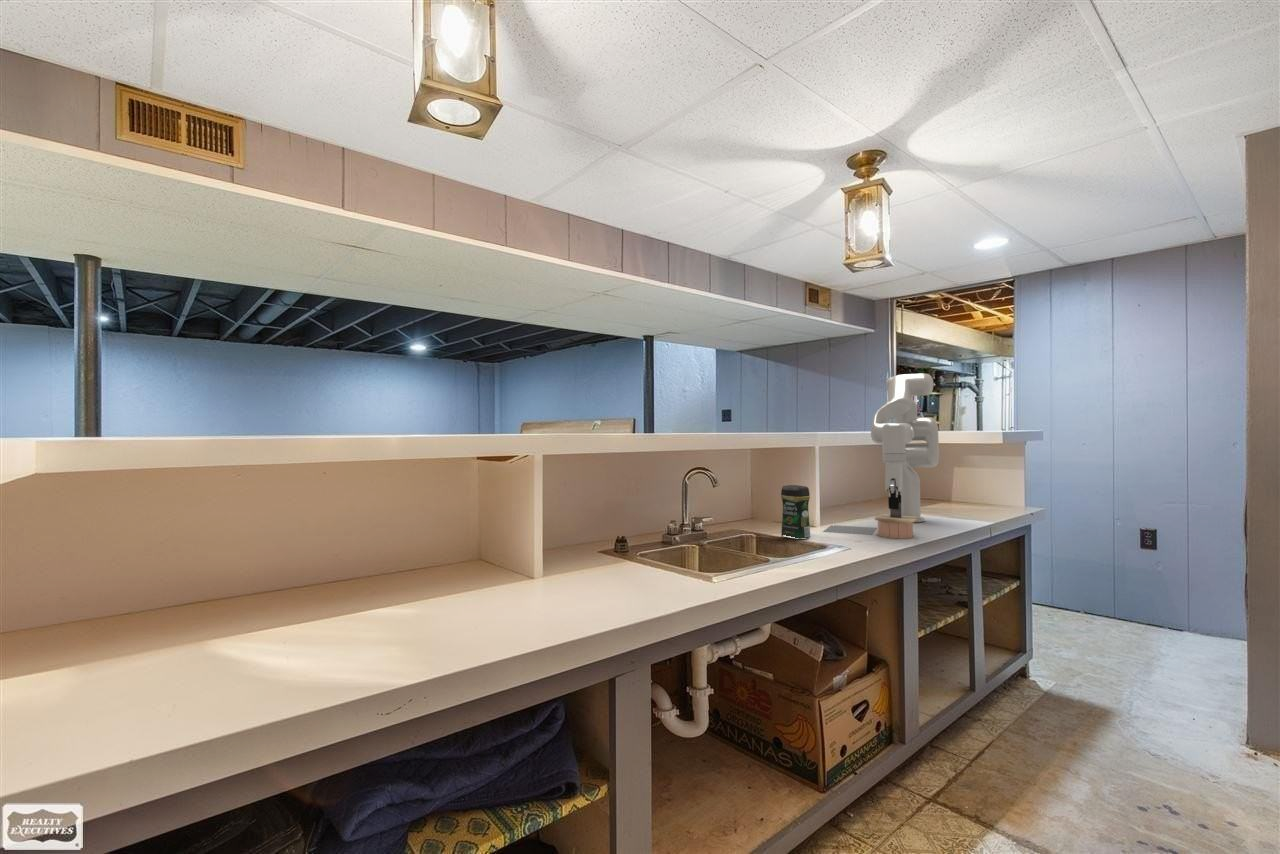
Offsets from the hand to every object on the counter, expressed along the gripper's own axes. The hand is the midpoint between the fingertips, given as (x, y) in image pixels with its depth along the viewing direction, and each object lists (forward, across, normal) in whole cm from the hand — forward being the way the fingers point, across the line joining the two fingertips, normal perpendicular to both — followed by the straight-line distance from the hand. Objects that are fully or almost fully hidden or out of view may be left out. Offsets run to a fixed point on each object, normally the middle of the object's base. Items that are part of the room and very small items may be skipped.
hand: (895, 507), depth 206 cm
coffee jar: (+11, +16, -31) cm, 36 cm away
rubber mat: (+10, -6, -16) cm, 20 cm away
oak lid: (+4, 0, 0) cm, 4 cm away
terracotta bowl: (+10, 0, 0) cm, 10 cm away
